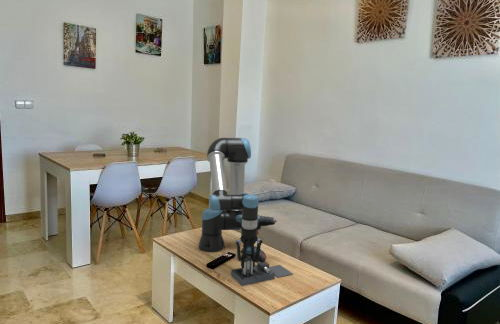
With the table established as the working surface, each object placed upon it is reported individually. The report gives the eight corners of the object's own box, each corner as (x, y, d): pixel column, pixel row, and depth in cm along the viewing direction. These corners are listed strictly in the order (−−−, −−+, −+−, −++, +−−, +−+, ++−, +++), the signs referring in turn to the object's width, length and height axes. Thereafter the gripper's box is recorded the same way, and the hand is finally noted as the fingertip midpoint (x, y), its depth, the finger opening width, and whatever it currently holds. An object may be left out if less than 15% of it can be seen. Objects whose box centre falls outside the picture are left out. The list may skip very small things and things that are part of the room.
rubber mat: (265, 268, 200) (265, 267, 200) (279, 265, 204) (279, 264, 204) (278, 277, 190) (278, 277, 189) (292, 274, 194) (293, 273, 194)
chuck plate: (230, 275, 190) (231, 264, 189) (262, 269, 199) (262, 258, 198) (242, 286, 180) (242, 274, 179) (274, 278, 189) (275, 267, 188)
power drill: (274, 264, 205) (276, 219, 201) (232, 259, 209) (233, 215, 206) (276, 258, 214) (278, 214, 210) (236, 253, 218) (237, 210, 214)
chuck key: (242, 280, 186) (242, 256, 184) (245, 274, 191) (246, 252, 190) (249, 281, 185) (250, 258, 183) (252, 275, 191) (253, 253, 189)
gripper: (234, 230, 178) (233, 278, 182) (267, 229, 182) (265, 275, 186) (231, 225, 185) (230, 271, 189) (263, 224, 189) (261, 269, 193)
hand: (247, 273), depth 187 cm, fingers closed on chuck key, 3 cm apart
